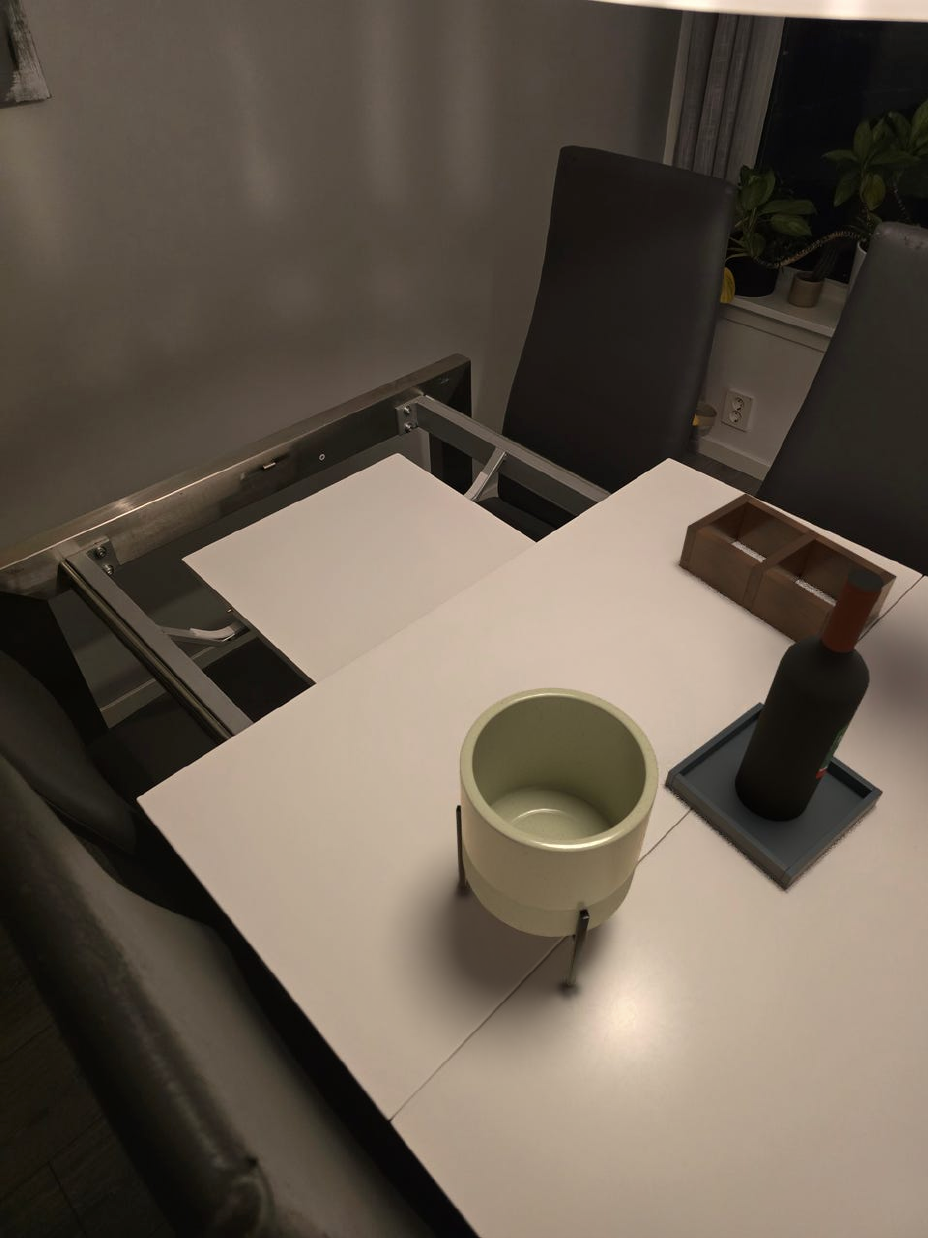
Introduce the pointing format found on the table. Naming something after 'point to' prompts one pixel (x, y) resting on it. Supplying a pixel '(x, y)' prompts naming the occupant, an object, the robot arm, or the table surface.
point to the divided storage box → (773, 565)
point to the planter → (553, 811)
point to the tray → (766, 841)
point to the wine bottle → (809, 708)
